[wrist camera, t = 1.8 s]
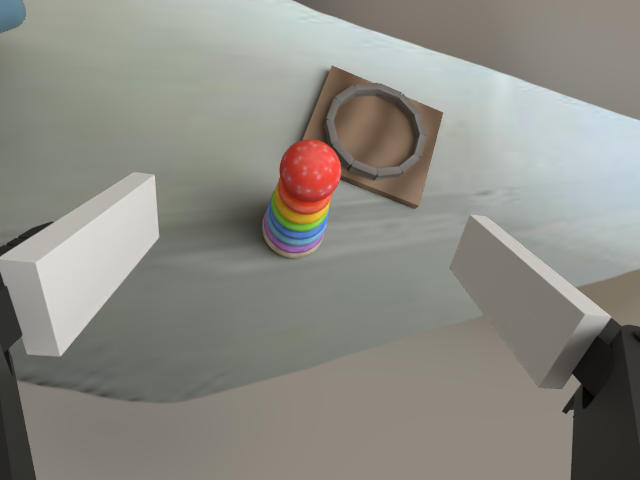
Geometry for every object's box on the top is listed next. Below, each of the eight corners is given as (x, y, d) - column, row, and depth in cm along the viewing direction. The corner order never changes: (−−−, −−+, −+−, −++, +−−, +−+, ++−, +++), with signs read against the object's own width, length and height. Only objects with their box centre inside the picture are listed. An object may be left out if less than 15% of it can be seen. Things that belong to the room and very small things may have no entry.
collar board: (294, 161, 46) (296, 151, 43) (330, 71, 50) (334, 57, 48) (415, 208, 47) (424, 202, 45) (438, 117, 52) (448, 106, 49)
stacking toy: (330, 211, 45) (380, 136, 27) (312, 267, 42) (354, 226, 25) (274, 191, 44) (286, 100, 26) (252, 247, 42) (250, 189, 24)
